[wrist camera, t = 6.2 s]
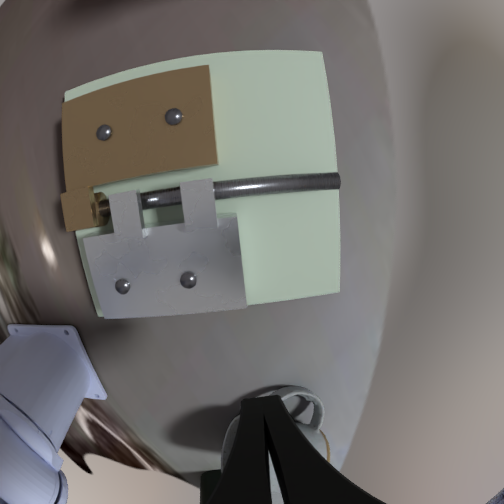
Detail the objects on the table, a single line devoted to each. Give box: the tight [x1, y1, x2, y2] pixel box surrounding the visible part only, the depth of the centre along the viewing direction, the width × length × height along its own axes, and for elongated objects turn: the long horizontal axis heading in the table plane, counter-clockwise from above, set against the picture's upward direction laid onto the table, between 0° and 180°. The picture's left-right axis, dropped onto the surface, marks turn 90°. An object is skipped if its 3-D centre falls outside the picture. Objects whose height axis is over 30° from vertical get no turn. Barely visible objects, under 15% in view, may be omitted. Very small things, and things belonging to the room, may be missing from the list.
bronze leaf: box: [60, 65, 341, 232], centre depth 13 cm, size 16×8×2 cm, turn 96°
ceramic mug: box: [221, 386, 330, 493], centre depth 18 cm, size 11×8×8 cm
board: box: [65, 50, 340, 317], centre depth 15 cm, size 17×16×1 cm
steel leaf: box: [83, 178, 247, 319], centre depth 15 cm, size 9×7×2 cm
